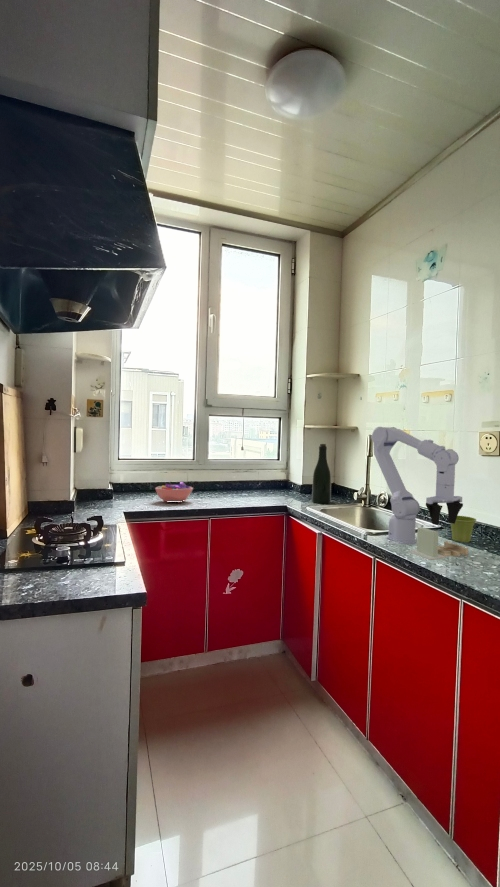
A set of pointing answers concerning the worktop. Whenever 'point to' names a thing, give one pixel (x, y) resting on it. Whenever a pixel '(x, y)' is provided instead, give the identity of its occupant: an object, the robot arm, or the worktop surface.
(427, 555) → the mat
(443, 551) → the offcut upper
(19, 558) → the worktop surface
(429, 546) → the block
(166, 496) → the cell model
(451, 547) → the rack
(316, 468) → the beer bottle
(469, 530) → the plant pot
